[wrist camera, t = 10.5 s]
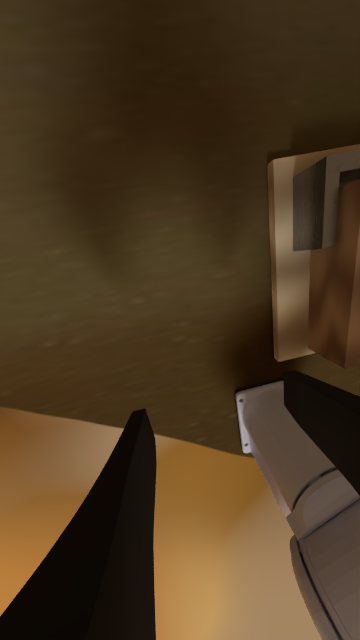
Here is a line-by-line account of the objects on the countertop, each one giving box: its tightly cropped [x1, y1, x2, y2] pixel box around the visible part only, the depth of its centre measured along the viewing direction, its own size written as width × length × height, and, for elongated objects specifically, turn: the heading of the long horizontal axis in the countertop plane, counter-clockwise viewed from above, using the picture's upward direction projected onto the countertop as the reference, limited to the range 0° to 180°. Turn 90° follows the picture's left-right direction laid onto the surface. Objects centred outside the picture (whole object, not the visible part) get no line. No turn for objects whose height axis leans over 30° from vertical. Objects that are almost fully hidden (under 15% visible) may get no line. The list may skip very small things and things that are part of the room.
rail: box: [308, 179, 360, 369], centre depth 15 cm, size 14×3×4 cm, turn 11°
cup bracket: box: [293, 150, 360, 251], centre depth 14 cm, size 6×7×3 cm
